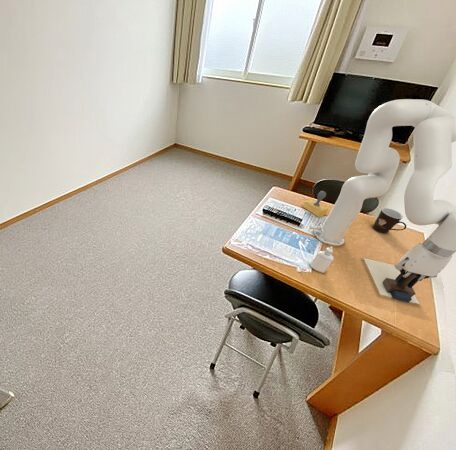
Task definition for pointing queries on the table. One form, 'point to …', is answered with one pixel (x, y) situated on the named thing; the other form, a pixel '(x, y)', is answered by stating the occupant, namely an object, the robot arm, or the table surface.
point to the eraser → (401, 296)
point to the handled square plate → (393, 286)
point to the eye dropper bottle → (322, 260)
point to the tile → (384, 275)
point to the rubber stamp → (316, 205)
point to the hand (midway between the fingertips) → (402, 283)
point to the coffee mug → (387, 220)
